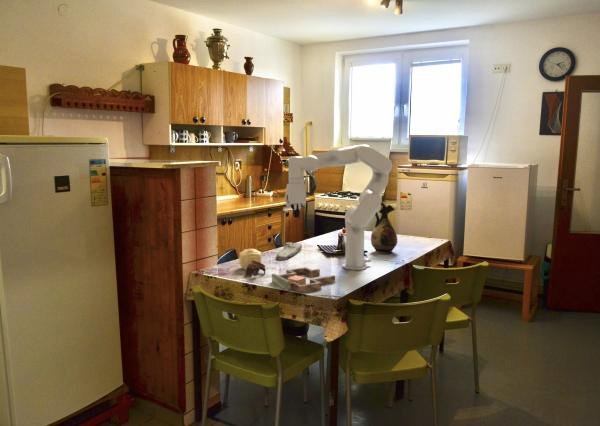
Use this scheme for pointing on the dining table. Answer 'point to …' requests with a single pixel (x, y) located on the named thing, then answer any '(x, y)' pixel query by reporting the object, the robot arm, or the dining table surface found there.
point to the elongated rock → (289, 251)
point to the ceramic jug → (384, 232)
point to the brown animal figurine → (254, 268)
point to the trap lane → (303, 272)
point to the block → (297, 279)
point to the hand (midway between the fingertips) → (296, 217)
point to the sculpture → (249, 257)
